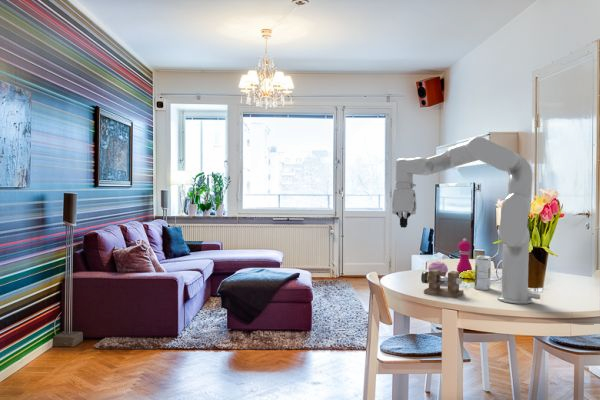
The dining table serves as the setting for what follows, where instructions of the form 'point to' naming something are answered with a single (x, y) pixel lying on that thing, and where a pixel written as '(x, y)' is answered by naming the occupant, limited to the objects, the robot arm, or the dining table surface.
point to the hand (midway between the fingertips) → (403, 227)
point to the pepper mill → (464, 256)
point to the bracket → (436, 290)
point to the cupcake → (439, 268)
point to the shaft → (439, 278)
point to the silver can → (482, 272)
